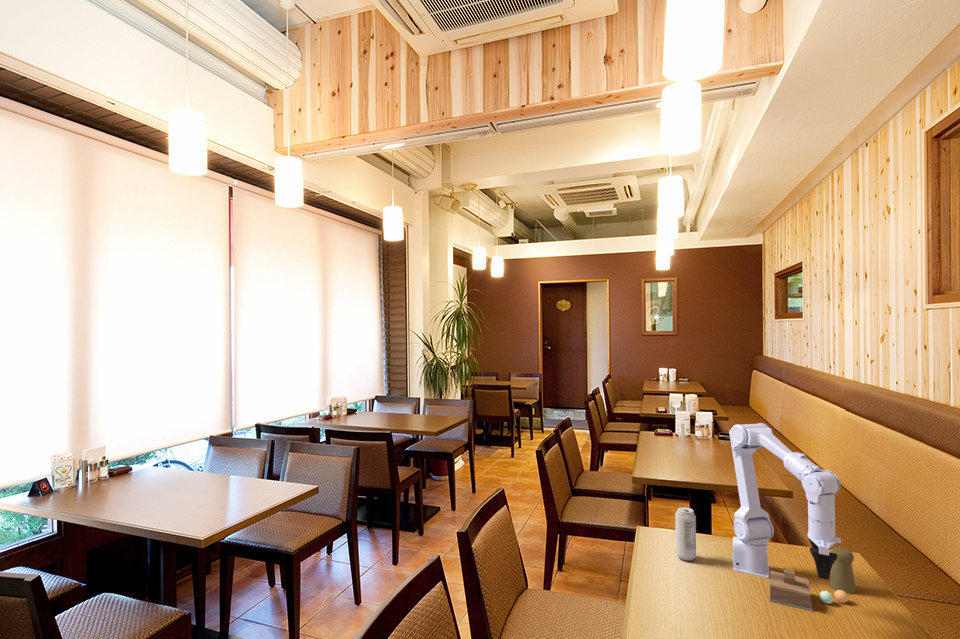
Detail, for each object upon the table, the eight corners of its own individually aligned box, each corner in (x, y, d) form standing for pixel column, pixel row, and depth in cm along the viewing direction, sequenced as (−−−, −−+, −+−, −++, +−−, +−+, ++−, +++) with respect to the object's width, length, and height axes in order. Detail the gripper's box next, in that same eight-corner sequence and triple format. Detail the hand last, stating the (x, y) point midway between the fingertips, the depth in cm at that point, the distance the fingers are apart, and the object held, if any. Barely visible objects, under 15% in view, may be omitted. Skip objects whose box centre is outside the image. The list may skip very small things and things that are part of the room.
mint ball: (820, 604, 131) (819, 592, 131) (819, 598, 133) (818, 587, 133) (833, 607, 129) (833, 595, 129) (832, 601, 132) (832, 590, 132)
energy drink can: (687, 551, 161) (687, 505, 161) (700, 559, 155) (699, 512, 156) (671, 553, 160) (671, 507, 160) (684, 562, 154) (683, 514, 154)
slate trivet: (769, 601, 132) (769, 599, 132) (770, 584, 140) (770, 583, 140) (812, 611, 127) (812, 609, 127) (810, 594, 135) (810, 592, 135)
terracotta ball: (835, 603, 131) (834, 591, 131) (833, 597, 134) (833, 586, 134) (849, 606, 129) (849, 594, 129) (847, 600, 132) (847, 589, 132)
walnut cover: (810, 608, 128) (810, 582, 128) (770, 598, 132) (770, 573, 132) (808, 592, 135) (808, 567, 135) (770, 583, 140) (770, 560, 140)
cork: (861, 595, 135) (860, 554, 135) (836, 592, 136) (835, 552, 136) (849, 583, 141) (848, 545, 141) (825, 581, 142) (824, 543, 142)
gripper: (844, 532, 119) (844, 589, 119) (837, 512, 131) (838, 563, 131) (808, 526, 122) (809, 581, 122) (805, 507, 135) (806, 557, 135)
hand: (822, 571), depth 127 cm, fingers open, 7 cm apart
